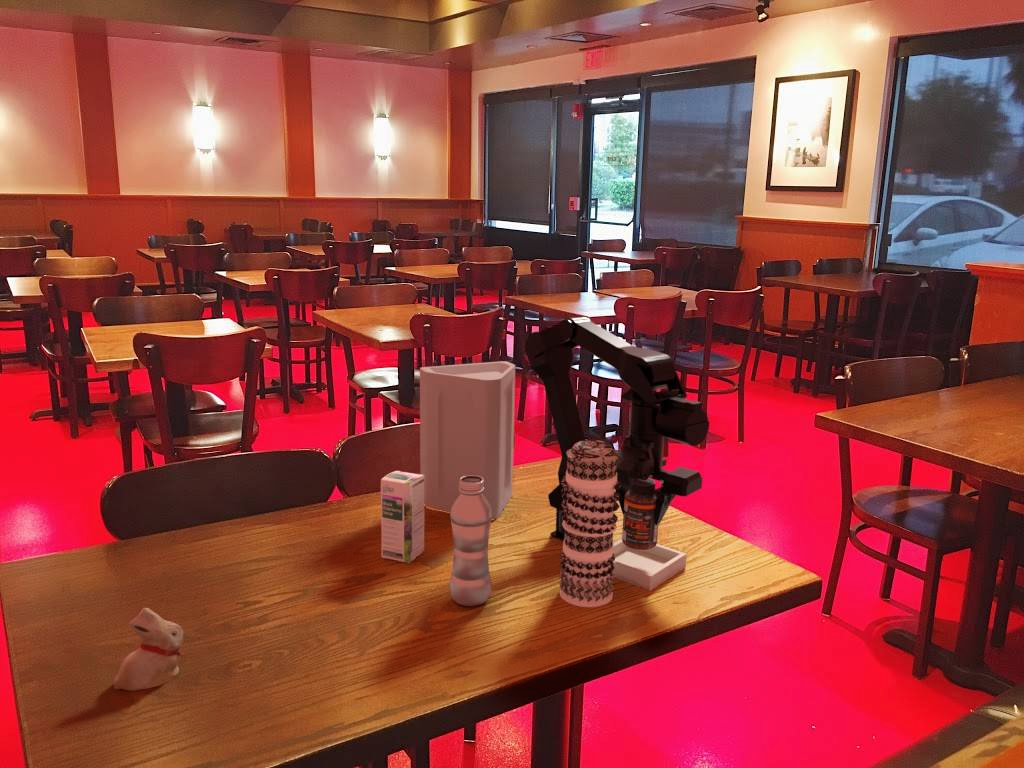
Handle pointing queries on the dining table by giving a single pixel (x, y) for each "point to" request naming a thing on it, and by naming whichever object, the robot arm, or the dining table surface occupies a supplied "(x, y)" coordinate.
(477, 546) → the plastic bottle
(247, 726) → the dining table surface
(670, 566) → the tray
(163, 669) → the chocolate bunny
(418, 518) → the syrup box
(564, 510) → the decorative candle
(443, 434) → the triangular storage bin
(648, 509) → the supplement bottle
